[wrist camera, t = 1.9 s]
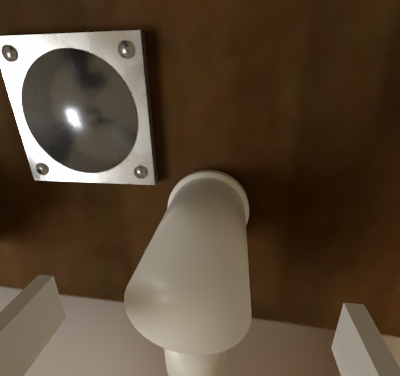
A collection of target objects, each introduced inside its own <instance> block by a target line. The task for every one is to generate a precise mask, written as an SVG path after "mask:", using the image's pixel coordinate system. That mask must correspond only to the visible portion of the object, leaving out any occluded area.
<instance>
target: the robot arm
mask: <svg viewBox="0 0 400 376" xmlns="http://www.w3.org/2000/svg"><path fill="white" fill-rule="evenodd" d="M65 318H66V317H65V313H64V310H63V307H62V304H61V300H60V297H59V293H58V290H57V287H56V283H55V280H54V277H53V276H47V275H38V276H37V277H36V278H35V279H34V280H33V281H32V282H31V283H30V284H29V285H28V286H27V287H26V288H25V289H24V290H23V291H22V292H21V293H20V294H19V295H18V296H17V297H16V298H15V299H13V300H12V301H11V303H9V304H8V305H7V306H6V307H5V308H4V309H3V310H2V311H1V312H0V376H24V374H25V373H26V372H27V370H28V369H29V368H30V366H31V365H32V363H33V362H34V361H35V359H36V358H37V357H38V355H39V354H40V352H41V351H42V350H43V348H44V347H45V346H46V344H47V343H48V342H49V340H50V339H51V337H52V336H53V335H54V333H55V332H56V331H57V329H58V328H59V326H60V325H61V324H62V322H63V321H64V319H65ZM332 351H333V354H334V357H335V360H336V363H337V365H338V368H339V371H340V374H341V376H400V368H399V366H398V364H397V362H396V361H395V359H394V357H393V356H392V354H391V352H390V350H389V348H388V347H387V345H386V343H385V341H384V340H383V338H382V336H381V334H380V333H379V331H378V329H377V327H376V326H375V324H374V322H373V320H372V319H371V317H370V315H369V313H368V311H367V310H366V308H365V306H364V305H363V304H352V303H344V304H343V307H342V311H341V314H340V318H339V322H338V325H337V329H336V333H335V337H334V340H333V344H332Z"/></svg>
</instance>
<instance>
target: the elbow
mask: <svg viewBox="0 0 400 376" xmlns="http://www.w3.org/2000/svg"><path fill="white" fill-rule="evenodd" d="M248 219H249V203H248V198H247V194H246V192H245V190H244V188H243V187H242V185H241V184H240V183H239V182H238V181H237V180H236V179H235V178H233V177H232V176H230V175H229V174H227V173H225V172H222V171H218V170H213V169H202V170H197V171H194V172H191V173H189V174H187V175H186V176H184V177H183V178H182V179H180V181H179V182H178V183H177V184H176V186H175V187H174V189H173V191H172V193H171V195H170V197H169V201H168V209H167V211H166V213H165V215H164V217H163V219H162V220H161V222H160V224H159V226H158V228H157V230H156V232H155V234H154V236H153V238H152V240H151V241H150V243H149V245H148V247H147V249H146V251H145V253H144V255H143V257H142V259H141V261H140V263H139V264H138V266H137V268H136V270H135V272H134V274H133V276H132V278H131V280H130V282H129V284H128V286H127V288H126V291H125V294H124V305H125V309H126V313H127V315H128V318H129V319H130V321H131V323H132V324H133V325H134V327H135V328H136V329H137V330H138V331H139V332H140V333H141V334H142V335H143V336H144V337H146V338H147V339H148V340H150V341H151V342H153V343H155V344H157V345H158V346H160V347H163V348H164V351H165V359H166V368H167V372H168V375H169V376H222V375H223V373H224V369H225V364H226V350H227V349H230V348H231V347H233V346H235V345H236V344H237V343H239V342H240V341H241V340H242V339H243V338H244V336H245V335H246V333H247V332H248V330H249V327H250V323H251V300H250V284H249V267H248V251H247V235H246V225H247V222H248Z"/></svg>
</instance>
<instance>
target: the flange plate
mask: <svg viewBox="0 0 400 376" xmlns="http://www.w3.org/2000/svg"><path fill="white" fill-rule="evenodd" d="M0 68H1V71H2V74H3V78H4V81H5V84H6V88H7V91H8V94H9V98H10V101H11V104H12V108H13V111H14V114H15V118H16V121H17V124H18V128H19V131H20V134H21V137H22V141H23V144H24V147H25V151H26V154H27V157H28V161H29V164H30V167H31V171H32V174H33V177H34V180H39V181H64V182H90V183H116V184H142V185H155V184H156V183H157V182H158V176H157V165H156V154H155V142H154V131H153V120H152V109H151V98H150V86H149V75H148V64H147V53H146V42H145V32H143V31H141V30H130V31H106V32H82V33H59V34H35V35H11V36H0Z"/></svg>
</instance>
